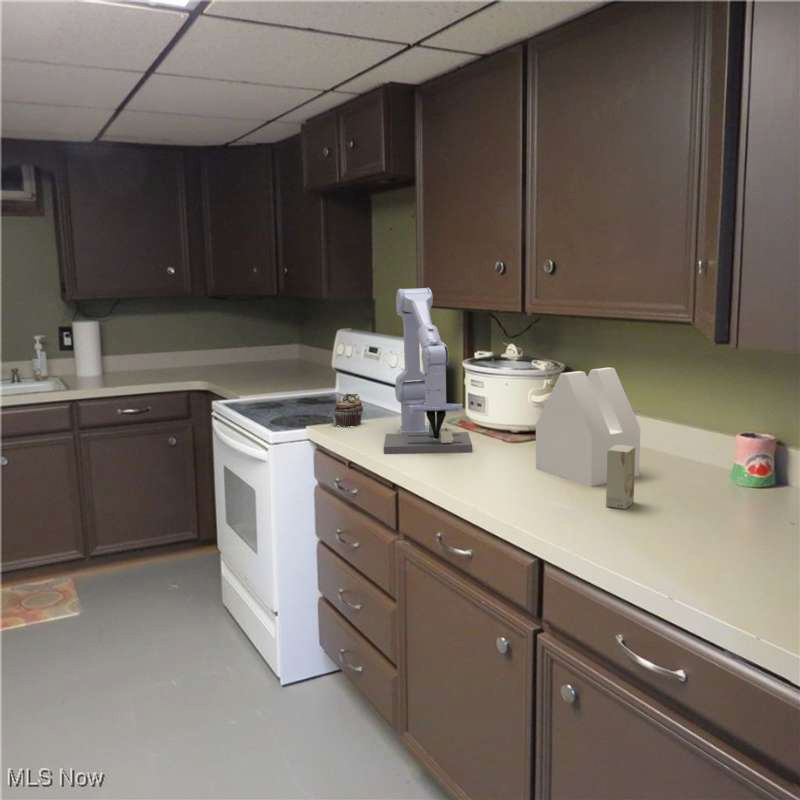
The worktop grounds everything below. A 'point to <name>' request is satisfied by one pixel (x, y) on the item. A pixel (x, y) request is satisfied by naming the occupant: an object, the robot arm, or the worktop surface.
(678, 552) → the worktop surface
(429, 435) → the teal fader
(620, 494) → the skincare box
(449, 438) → the ivory fader
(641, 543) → the worktop surface
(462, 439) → the console
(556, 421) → the grey house shaped holder
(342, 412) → the cupcake
